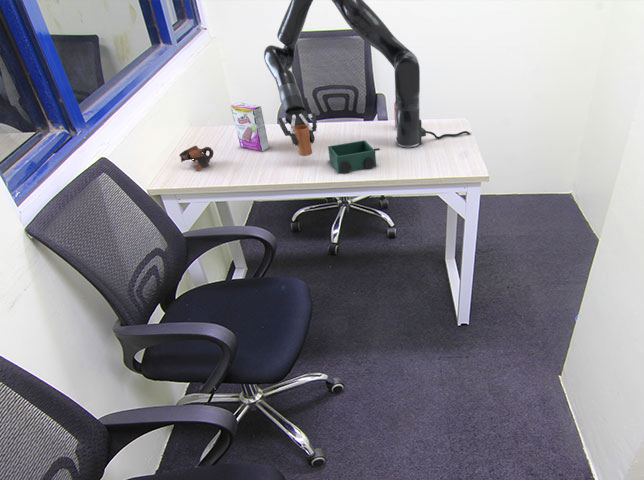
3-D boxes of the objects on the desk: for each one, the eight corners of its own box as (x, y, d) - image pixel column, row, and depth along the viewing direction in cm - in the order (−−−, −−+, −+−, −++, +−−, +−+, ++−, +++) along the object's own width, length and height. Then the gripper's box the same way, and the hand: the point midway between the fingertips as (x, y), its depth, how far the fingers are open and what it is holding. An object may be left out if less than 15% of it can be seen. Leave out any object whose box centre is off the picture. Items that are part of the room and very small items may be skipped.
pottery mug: (190, 175, 187) (176, 154, 184) (190, 177, 195) (177, 157, 192) (220, 159, 190) (206, 138, 187) (218, 162, 198) (205, 142, 195)
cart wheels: (374, 152, 200) (373, 141, 198) (386, 165, 191) (386, 154, 188) (331, 160, 195) (329, 149, 192) (341, 174, 185) (340, 162, 183)
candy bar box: (239, 148, 205) (229, 105, 195) (247, 143, 209) (238, 101, 198) (262, 152, 202) (253, 109, 191) (270, 147, 205) (261, 105, 194)
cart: (366, 155, 198) (364, 140, 195) (376, 166, 190) (375, 150, 186) (329, 161, 194) (327, 146, 190) (338, 173, 186) (336, 157, 182)
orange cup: (310, 149, 192) (306, 123, 186) (314, 154, 188) (310, 128, 182) (296, 151, 191) (291, 126, 184) (299, 156, 187) (295, 130, 181)
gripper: (271, 97, 180) (285, 142, 180) (311, 91, 185) (324, 135, 184) (271, 108, 188) (284, 151, 187) (310, 102, 192) (322, 145, 191)
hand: (304, 143), depth 186 cm, fingers closed on orange cup, 5 cm apart
